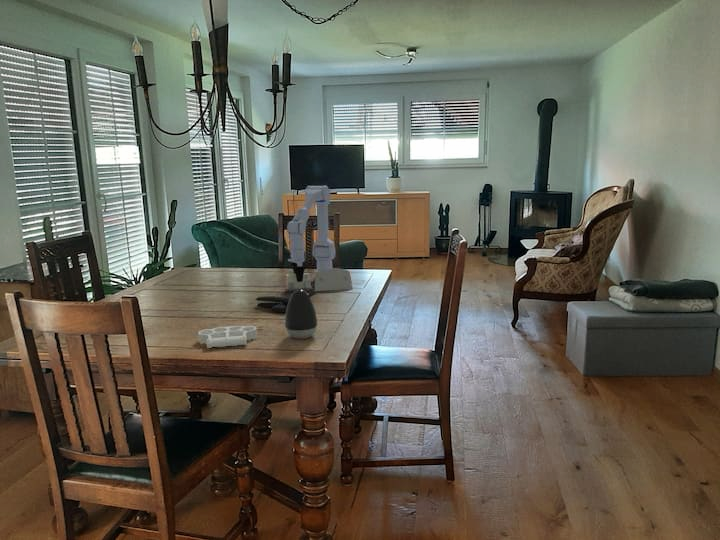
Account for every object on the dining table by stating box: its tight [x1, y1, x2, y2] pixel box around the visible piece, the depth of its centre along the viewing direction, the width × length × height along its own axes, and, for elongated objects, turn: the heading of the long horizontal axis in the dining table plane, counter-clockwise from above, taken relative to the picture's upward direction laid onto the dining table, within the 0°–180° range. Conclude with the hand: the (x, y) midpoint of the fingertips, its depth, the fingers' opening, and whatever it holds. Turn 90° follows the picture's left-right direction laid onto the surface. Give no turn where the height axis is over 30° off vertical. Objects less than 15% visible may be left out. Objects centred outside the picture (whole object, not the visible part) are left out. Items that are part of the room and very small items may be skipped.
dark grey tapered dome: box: [284, 290, 318, 340], centre depth 172 cm, size 10×10×15 cm
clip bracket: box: [285, 280, 314, 294], centre depth 236 cm, size 7×11×4 cm, turn 103°
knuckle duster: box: [197, 325, 258, 349], centre depth 171 cm, size 3×18×15 cm
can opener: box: [255, 295, 290, 314], centre depth 207 cm, size 18×7×6 cm, turn 50°
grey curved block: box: [313, 267, 353, 292], centre depth 238 cm, size 17×5×10 cm, turn 97°
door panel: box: [285, 272, 312, 289], centre depth 236 cm, size 3×10×6 cm, turn 103°
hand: (298, 279), depth 236 cm, fingers open, 7 cm apart
